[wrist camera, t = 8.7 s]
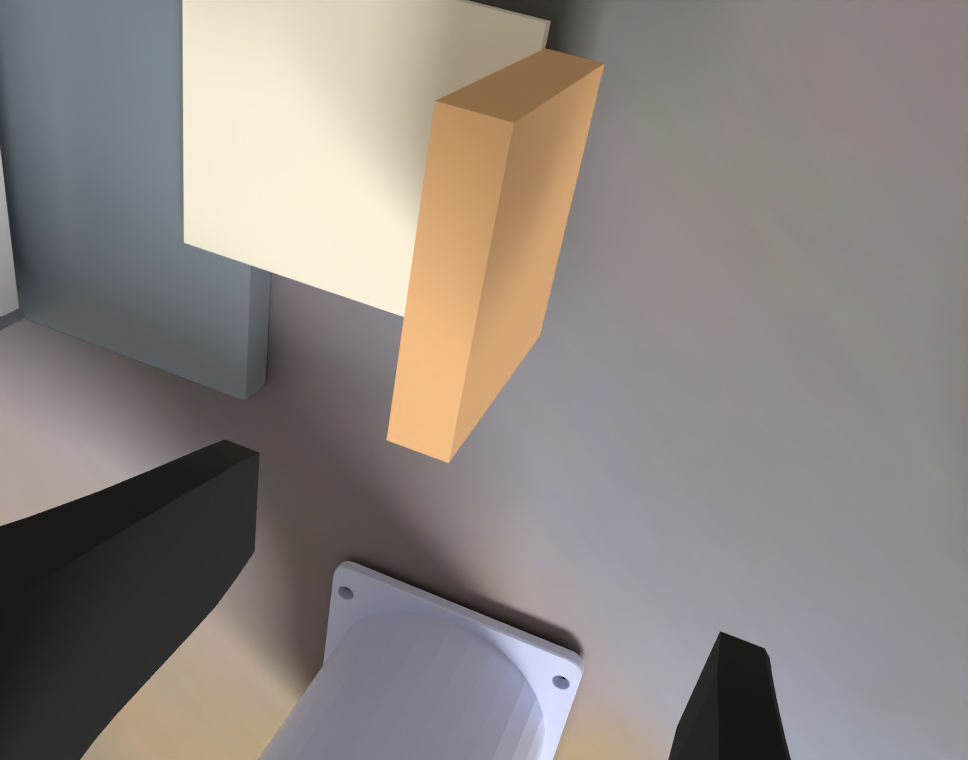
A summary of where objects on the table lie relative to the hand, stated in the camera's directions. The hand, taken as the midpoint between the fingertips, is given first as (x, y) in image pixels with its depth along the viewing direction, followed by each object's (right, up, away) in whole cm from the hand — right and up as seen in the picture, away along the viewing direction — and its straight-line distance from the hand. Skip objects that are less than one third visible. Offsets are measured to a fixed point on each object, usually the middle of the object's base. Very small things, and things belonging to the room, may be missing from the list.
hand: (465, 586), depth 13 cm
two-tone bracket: (-2, +8, +6) cm, 10 cm away
